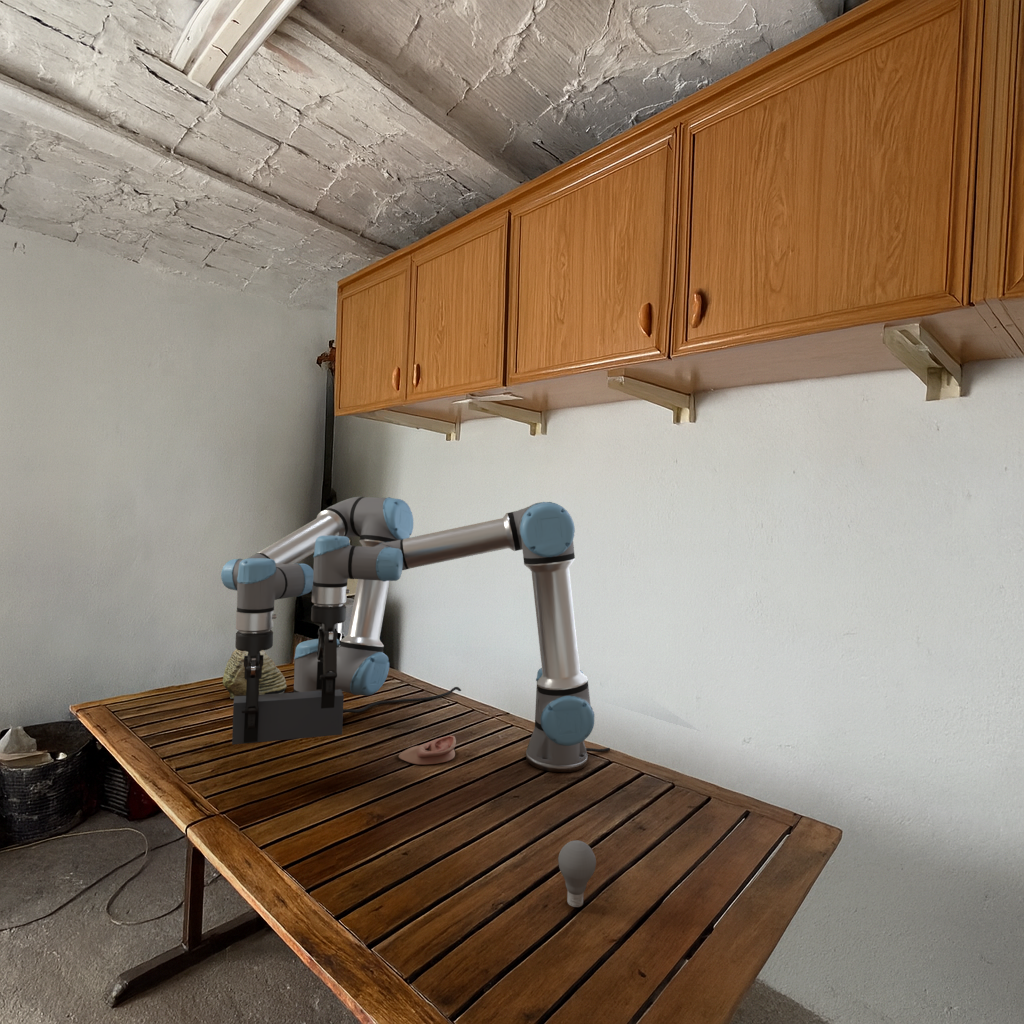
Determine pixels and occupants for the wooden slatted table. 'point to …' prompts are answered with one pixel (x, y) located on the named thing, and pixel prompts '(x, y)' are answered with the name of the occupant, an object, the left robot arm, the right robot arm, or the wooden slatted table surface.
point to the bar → (290, 716)
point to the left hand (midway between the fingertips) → (250, 736)
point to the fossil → (236, 682)
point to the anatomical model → (431, 751)
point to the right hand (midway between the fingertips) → (324, 698)
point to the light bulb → (576, 869)
